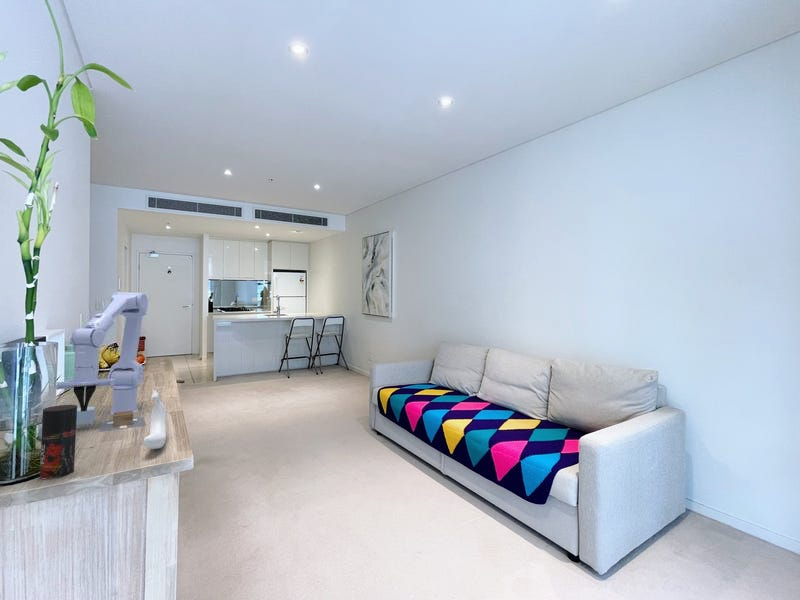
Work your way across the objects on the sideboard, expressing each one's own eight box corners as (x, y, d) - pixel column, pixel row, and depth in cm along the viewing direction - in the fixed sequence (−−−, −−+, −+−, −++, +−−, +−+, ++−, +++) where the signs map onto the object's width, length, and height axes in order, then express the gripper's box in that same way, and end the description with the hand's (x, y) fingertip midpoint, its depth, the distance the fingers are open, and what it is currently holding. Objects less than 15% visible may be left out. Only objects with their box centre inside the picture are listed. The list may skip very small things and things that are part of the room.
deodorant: (80, 469, 91) (83, 405, 91) (55, 480, 85) (59, 411, 85) (58, 467, 91) (61, 404, 92) (31, 478, 85) (35, 410, 86)
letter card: (99, 423, 126) (99, 422, 126) (143, 418, 133) (143, 416, 133) (99, 433, 116) (99, 431, 116) (146, 427, 123) (146, 425, 123)
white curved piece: (141, 460, 96) (144, 402, 97) (147, 438, 113) (149, 388, 113) (164, 457, 99) (167, 400, 99) (166, 436, 115) (168, 387, 116)
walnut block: (113, 423, 125) (113, 412, 125) (131, 420, 128) (132, 410, 128) (113, 427, 121) (113, 415, 121) (132, 424, 124) (133, 413, 124)
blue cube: (74, 423, 126) (75, 408, 126) (94, 421, 129) (94, 406, 129) (73, 427, 122) (74, 411, 122) (93, 425, 125) (94, 409, 125)
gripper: (53, 369, 111) (50, 417, 111) (115, 366, 120) (113, 410, 120) (56, 367, 117) (53, 411, 117) (115, 364, 126) (112, 405, 125)
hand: (83, 410), depth 119 cm, fingers closed
